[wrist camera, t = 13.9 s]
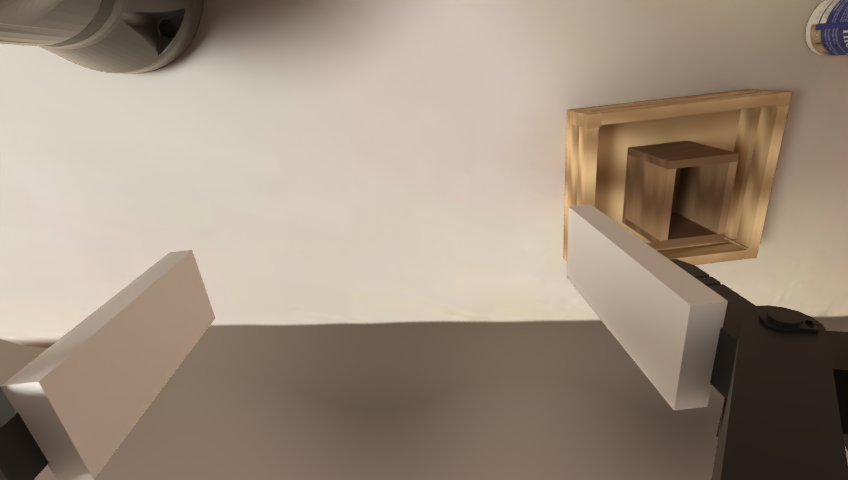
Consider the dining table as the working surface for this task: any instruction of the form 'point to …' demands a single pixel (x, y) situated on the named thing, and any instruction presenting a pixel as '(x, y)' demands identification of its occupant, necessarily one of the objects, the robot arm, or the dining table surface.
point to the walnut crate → (678, 192)
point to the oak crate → (672, 122)
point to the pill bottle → (829, 28)
